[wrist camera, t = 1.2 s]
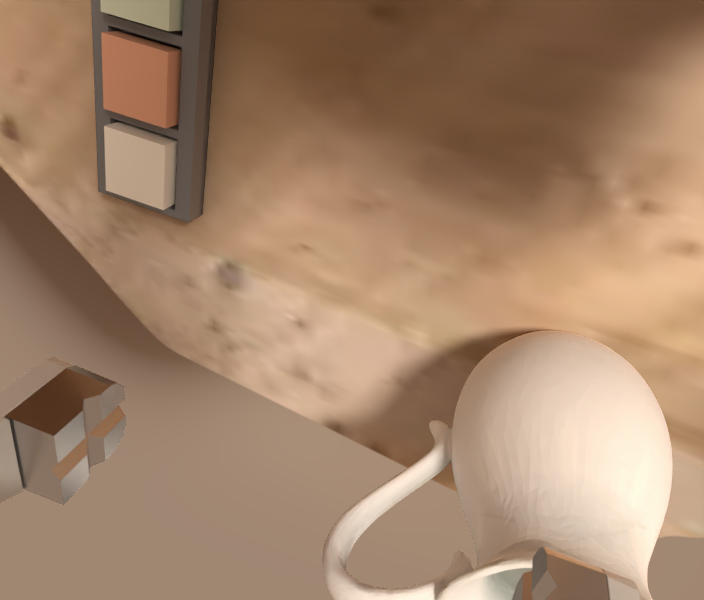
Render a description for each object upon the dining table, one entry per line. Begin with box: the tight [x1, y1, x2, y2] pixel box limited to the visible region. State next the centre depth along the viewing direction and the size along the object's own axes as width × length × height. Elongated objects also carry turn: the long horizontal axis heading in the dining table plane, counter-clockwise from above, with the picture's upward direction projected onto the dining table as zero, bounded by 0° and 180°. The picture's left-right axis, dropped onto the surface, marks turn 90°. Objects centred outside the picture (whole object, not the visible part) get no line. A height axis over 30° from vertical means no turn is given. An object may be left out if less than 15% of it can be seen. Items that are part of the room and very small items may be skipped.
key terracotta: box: [101, 31, 182, 128], centre depth 49 cm, size 6×6×2 cm
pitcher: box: [322, 330, 672, 600], centre depth 43 cm, size 24×17×28 cm
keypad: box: [91, 0, 218, 223], centre depth 50 cm, size 25×10×3 cm, turn 168°
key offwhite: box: [104, 121, 178, 210], centre depth 53 cm, size 6×6×2 cm
